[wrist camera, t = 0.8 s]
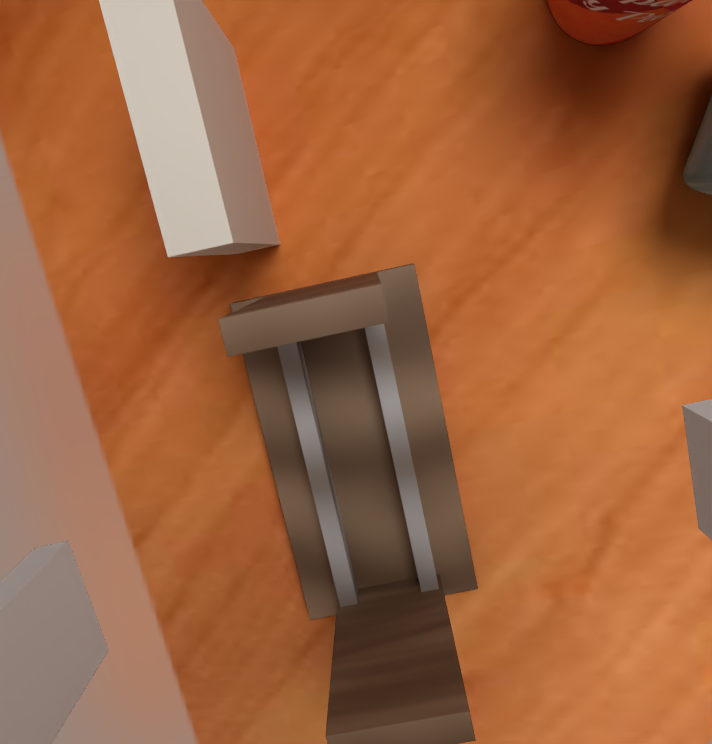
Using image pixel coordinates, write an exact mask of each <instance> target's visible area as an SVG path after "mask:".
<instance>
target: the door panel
mask: <svg viewBox="0 0 712 744" xmlns="http://www.w3.org/2000/svg"><path fill="white" fill-rule="evenodd" d="M99 2H100V6H101V10H102V13H103V17H104V21H105V25H106V28H107V32H108V36H109V40H110V43H111V47H112V51H113V54H114V58H115V62H116V66H117V69H118V73H119V77H120V81H121V84H122V88H123V92H124V95H125V99H126V103H127V107H128V110H129V114H130V118H131V122H132V125H133V129H134V133H135V136H136V140H137V144H138V148H139V151H140V155H141V159H142V163H143V166H144V170H145V174H146V177H147V181H148V185H149V189H150V192H151V196H152V200H153V204H154V207H155V211H156V215H157V218H158V222H159V226H160V230H161V233H162V237H163V241H164V245H165V248H166V252H167V256H168V257H185V256H207V255H228V254H240V253H244V252H249V251H253V250H258V249H262V248H267V247H271V246H276V245H280V242H279V237H278V233H277V229H276V225H275V220H274V216H273V212H272V207H271V203H270V199H269V195H268V190H267V186H266V182H265V178H264V173H263V169H262V165H261V161H260V156H259V152H258V148H257V143H256V139H255V135H254V131H253V126H252V122H251V118H250V114H249V109H248V105H247V101H246V96H245V92H244V88H243V84H242V79H241V75H240V71H239V67H238V62H237V58H236V54H235V49H234V48H233V46H232V45H231V43H230V42H229V40H228V39H227V37H226V36H225V34H224V33H223V31H222V30H221V28H220V27H219V25H218V24H217V22H216V21H215V19H214V18H213V16H212V15H211V13H210V12H209V10H208V9H207V7H206V6H205V4H204V3H203V2H202V0H99Z"/></svg>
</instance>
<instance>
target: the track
mask: <svg viewBox="0 0 712 744" xmlns="http://www.w3.org/2000/svg"><path fill="white" fill-rule="evenodd" d="M230 305H231V309H232V313H230V314H228V315H226V316H224V317H222V318H220V319H218V321H219V325H220V329H221V333H222V337H223V341H224V345H225V349H226V352H227V356H228V357H229V356H234V355H238V354H243V357H244V360H245V364H246V368H247V372H248V376H249V380H250V384H251V388H252V392H253V396H254V400H255V404H256V408H257V412H258V416H259V420H260V424H261V428H262V432H263V435H264V439H265V443H266V447H267V451H268V455H269V459H270V463H271V467H272V471H273V475H274V479H275V483H276V487H277V491H278V495H279V499H280V503H281V506H282V510H283V514H284V518H285V522H286V526H287V530H288V534H289V538H290V542H291V546H292V550H293V554H294V558H295V562H296V566H297V570H298V574H299V578H300V581H301V585H302V589H303V593H304V597H305V601H306V605H307V609H308V613H309V617H310V620H313V619H318V618H323V617H329V616H334V615H336V623H335V635H334V646H333V658H332V669H331V681H330V692H329V703H328V715H327V726H326V740H327V743H328V744H459V743H464V742H470V741H476V740H475V735H474V730H473V725H472V720H471V715H470V711H469V706H468V702H467V697H466V692H465V688H464V683H463V679H462V674H461V669H460V665H459V660H458V656H457V651H456V647H455V642H454V637H453V633H452V628H451V624H450V619H449V615H448V610H447V605H446V601H445V596H444V595H448V594H453V593H458V592H464V591H469V590H475V589H478V586H477V581H476V576H475V571H474V566H473V561H472V556H471V551H470V545H469V540H468V535H467V530H466V525H465V520H464V515H463V510H462V505H461V499H460V494H459V489H458V484H457V479H456V474H455V469H454V464H453V459H452V453H451V448H450V443H449V438H448V433H447V428H446V423H445V418H444V412H443V407H442V402H441V397H440V392H439V387H438V382H437V377H436V372H435V366H434V361H433V356H432V351H431V346H430V341H429V336H428V331H427V326H426V320H425V315H424V310H423V305H422V300H421V295H420V290H419V285H418V280H417V274H416V269H415V264H409V265H404V266H400V267H395V268H391V269H386V270H381V271H377V272H372V273H368V274H363V275H358V276H354V277H349V278H345V279H340V280H335V281H331V282H326V283H322V284H317V285H312V286H308V287H303V288H299V289H294V290H289V291H285V292H280V293H276V294H271V295H266V296H262V297H257V298H253V299H248V300H243V301H239V302H234V303H232V304H230Z"/></svg>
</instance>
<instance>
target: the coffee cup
mask: <svg viewBox="0 0 712 744" xmlns="http://www.w3.org/2000/svg"><path fill="white" fill-rule="evenodd" d="M690 1H692V0H547V3H548V6H549V9H550V12H551V14H552V16H553V18H554V19H555V21H556V22H557V24H558V25H559V26H560V27H561V28H562V29H563V30H564V31H565V32H566V33H567V34H568V35H570V36H571V37H573V38H574V39H576V40H578V41H581V42H583V43H587V44H591V45H609V44H614V43H618V42H621V41H623V40H626V39H628V38H630V37H632V36H634V35H636V34H638V33H639V32H641V31H643V30H645V29H646V28H648V27H650V26H651V25H653V24H655V23H656V22H658V21H659V20H661V19H663V18H664V17H666V16H668V15H669V14H671V13H672V12H674V11H676V10H677V9H679V8H680V7H682V6H684V5H685V4H687V3H688V2H690Z"/></svg>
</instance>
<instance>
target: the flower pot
mask: <svg viewBox="0 0 712 744" xmlns="http://www.w3.org/2000/svg"><path fill="white" fill-rule="evenodd" d="M683 179H684V182H685V184H686V185H687V186H688V187H690V188H692V189H694V190H696V191H699V192H703V193H706V194H709V195H712V96H711V98H710V101H709V104H708V106H707V109H706V112H705V115H704V117H703V120H702V123H701V125H700V128H699V131H698V134H697V136H696V139H695V142H694V144H693V147H692V150H691V152H690V155H689V157H688V160H687V163H686V166H685V169H684V172H683Z"/></svg>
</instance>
